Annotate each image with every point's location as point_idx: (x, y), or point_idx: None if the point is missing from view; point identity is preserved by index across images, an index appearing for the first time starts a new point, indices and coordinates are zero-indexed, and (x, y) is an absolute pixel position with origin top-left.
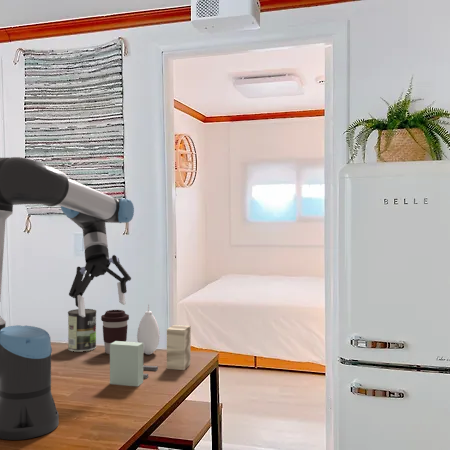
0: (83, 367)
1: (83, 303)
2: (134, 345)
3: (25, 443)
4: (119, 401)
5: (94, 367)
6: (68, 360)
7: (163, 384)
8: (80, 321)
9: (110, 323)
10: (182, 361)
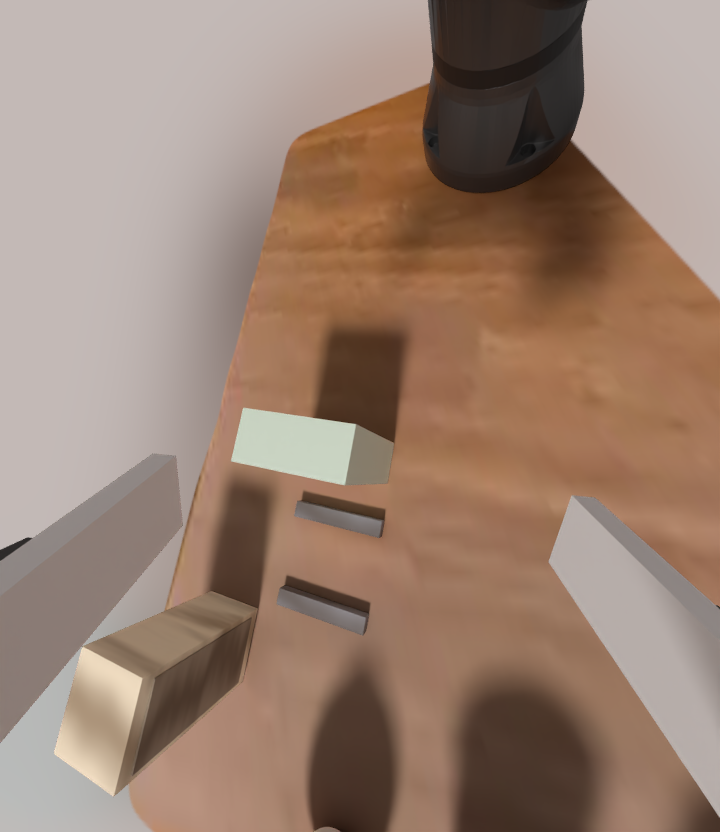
0: (560, 643)
1: (650, 684)
2: (256, 412)
3: None
4: (336, 317)
5: (510, 640)
6: None
7: None
8: None
9: None
10: (196, 601)
